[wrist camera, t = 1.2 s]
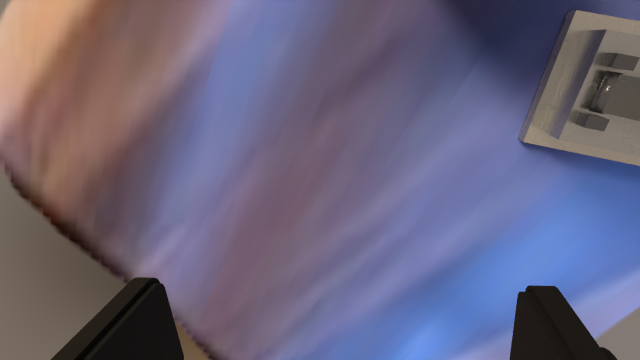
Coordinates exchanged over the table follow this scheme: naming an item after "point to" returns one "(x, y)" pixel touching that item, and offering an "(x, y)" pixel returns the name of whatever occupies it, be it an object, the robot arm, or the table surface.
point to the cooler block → (586, 89)
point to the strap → (618, 96)
